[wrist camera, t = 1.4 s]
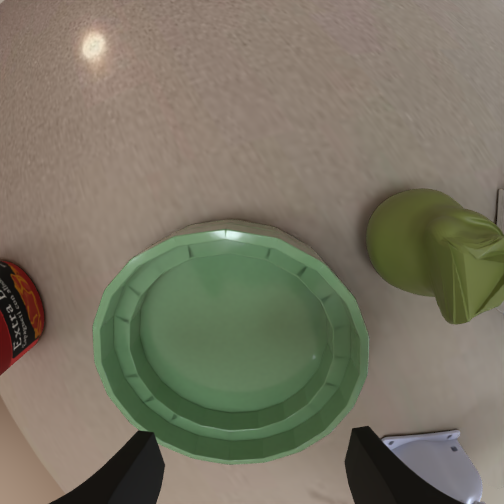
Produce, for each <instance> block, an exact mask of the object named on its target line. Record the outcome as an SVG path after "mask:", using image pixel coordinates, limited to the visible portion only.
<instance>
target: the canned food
mask: <svg viewBox="0 0 504 504" xmlns="http://www.w3.org/2000/svg"><path fill="white" fill-rule="evenodd" d="M43 327H44V310H43V306H42V302H41V299H40V296H39V293H38V291H37V290H36V288H35V286H34V284H33V282H32V281H31V279H30V278H29V277H28V276H27V274H26V273H25V272H24V271H23V270H22V269H20V268H19V267H18V266H16V265H15V264H13V263H11V262H7V261H0V375H1V374H2V373H4V372H5V371H6V370H7V369H8V368H9V367H10V366H11V365H13V364H14V363H15V362H16V361H17V360H18V359H19V358H21V357H22V356H23V355H24V354H25V353H26V352H27V351H29V350H30V349H31V348H32V347H33V346H34V345H35V344H36V343H37V341H38V339H39V338H40V336H41V334H42V331H43Z"/></svg>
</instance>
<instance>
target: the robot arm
mask: <svg viewBox="0 0 504 504" xmlns="http://www.w3.org/2000/svg"><path fill="white" fill-rule="evenodd" d="M459 435H460V431H459V430H453V431H446V432H438V433H430V434H420V435H409V436H394V437H385V438H383V439H382V440H381V439H380V438H379V437H378V436H377V435H376V434H375V433H374V431H373V430H372V429H371V428H370V427H369V426H365V427H359V428H352V432H351V437H350V442H349V446H348V450H347V454H346V459H345V467H346V473H347V478H348V484H349V487H350V490H351V493H352V496H353V499H354V503H355V504H485V502H479V501H480V499H481V496H482V480H481V477H480V474H479V473H478V471H477V469H476V468H475V466H474V465H473V463H472V462H471V460H470V459H469V457H468V456H467V454H466V453H465V451H464V450H463V448H462V447H461V445H460V444H459V442H458V441H457V438H458V436H459ZM164 468H165V464H164V461H163V458H162V455H161V452H160V449H159V446H158V443H157V440H156V437H155V434H154V432H149V431H141V430H139V431H137V432H136V433H135V434H134V436H133V437H132V438H131V439H130V440H129V441H128V442H127V443H126V444H125V445H124V446H123V447H122V448H121V449H120V450H119V451H118V452H117V453H116V454H115V455H114V456H113V457H112V458H111V459H110V460H109V461H108V462H107V463H106V464H105V465H104V466H103V467H102V468H101V469H99V470H98V471H97V472H96V473H95V474H93V475H92V476H91V477H90V478H89V479H87V480H86V481H85V482H84V483H82V484H81V485H79V486H78V487H77V488H75V489H74V490H72V491H71V492H69V493H67V494H66V495H64V496H62V497H60V498H59V499H57V500H55V501H53V502H51V503H49V504H156V502H157V499H158V496H159V493H160V489H161V486H162V480H163V474H164Z"/></svg>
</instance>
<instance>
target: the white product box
mask: <svg viewBox="0 0 504 504" xmlns="http://www.w3.org/2000/svg"><path fill="white" fill-rule="evenodd" d="M496 226H498V227H499V229H500V230H501V231H502V233H503V234H504V189H499V199H498V214H497V225H496ZM495 309H497V310H498V311H500V312H501V313H503V314H504V301H503V302H502V304H501V305H500V306H498V307H496V308H495Z"/></svg>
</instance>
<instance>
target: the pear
mask: <svg viewBox="0 0 504 504" xmlns="http://www.w3.org/2000/svg"><path fill="white" fill-rule="evenodd" d="M366 245H367V251H368V254H369V258H370V260H371V262H372V264H373V266H374V268H375V270H376V271H377V272H378V274H379V275H380V276H381V277H382V278H383V279H384V280H385V281H386V282H388V283H389V284H391V285H393V286H395V287H397V288H399V289H401V290H404V291H407V292H410V293H413V294H417V295H422V296H429V297H435V298H436V301H437V304H438V306H439V308H440V311H441V313H442V316H443V317H444V318H445V320H446V321H447V322H449V323H450V324H462V323H466V322H469V321H470V320H471V319H472V318H473V317H475V316H476V315H479V314H481V313H483V312H485V311H487V310H490V309H493V308H496V307H498V306H500V305H501V304H502V302H503V301H504V234H503V233H502V231H501V230H500V229H499V227H498V226H496V225H495V224H494V223H493V222H492V221H490V220H489V219H488V218H486V217H485V216H483V215H481V214H479V213H477V212H475V211H472V210H468V209H464V208H463V207H462V206H461V205H460V204H459V203H457V202H456V201H455V200H454V199H452V198H451V197H450V196H448V195H446V194H444V193H442V192H439V191H436V190H432V189H413V190H408V191H404V192H401V193H398V194H396V195H393V196H392V197H390V198H388V199H387V200H385V201H384V202H383V203H381V204H380V205H379V206H378V207H377V209H376V210H375V211H374V213H373V214H372V216H371V218H370V220H369V223H368V226H367V232H366Z"/></svg>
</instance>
